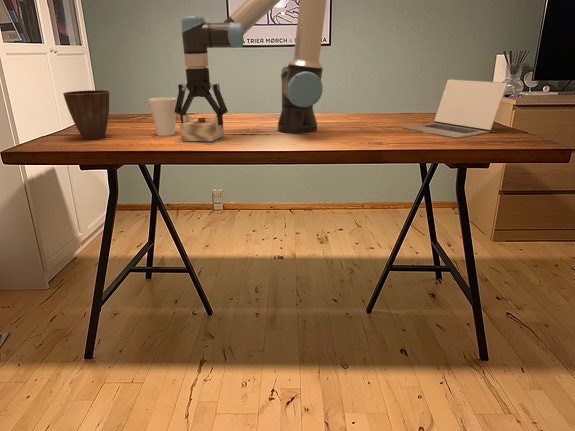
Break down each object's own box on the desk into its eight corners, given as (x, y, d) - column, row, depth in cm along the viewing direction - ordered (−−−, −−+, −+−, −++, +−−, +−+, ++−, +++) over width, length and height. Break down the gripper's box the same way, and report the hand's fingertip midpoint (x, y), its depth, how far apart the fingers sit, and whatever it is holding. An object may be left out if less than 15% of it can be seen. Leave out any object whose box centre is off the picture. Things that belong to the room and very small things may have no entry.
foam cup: (172, 138, 163) (168, 100, 158) (148, 137, 164) (144, 100, 160) (183, 133, 171) (180, 97, 167) (160, 132, 173) (156, 97, 169)
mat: (228, 136, 163) (228, 136, 163) (213, 144, 151) (213, 144, 150) (192, 135, 167) (192, 134, 166) (174, 143, 154) (174, 142, 154)
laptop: (400, 129, 176) (404, 82, 169) (443, 123, 188) (448, 78, 182) (456, 140, 155) (462, 86, 149) (500, 132, 167) (507, 82, 161)
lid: (224, 135, 162) (222, 116, 160) (211, 141, 152) (210, 121, 150) (195, 134, 165) (193, 115, 162) (181, 140, 155) (179, 120, 152)
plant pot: (66, 137, 166) (57, 92, 161) (107, 132, 175) (100, 89, 170) (78, 143, 155) (70, 95, 150) (122, 137, 164) (115, 91, 159)
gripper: (234, 66, 151) (238, 133, 159) (170, 67, 156) (177, 131, 164) (226, 67, 144) (231, 137, 152) (159, 68, 150) (166, 135, 157)
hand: (203, 134), depth 158 cm, fingers closed on lid, 11 cm apart
